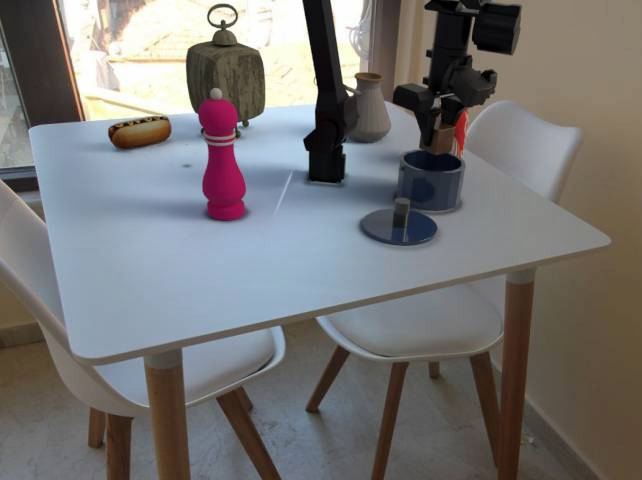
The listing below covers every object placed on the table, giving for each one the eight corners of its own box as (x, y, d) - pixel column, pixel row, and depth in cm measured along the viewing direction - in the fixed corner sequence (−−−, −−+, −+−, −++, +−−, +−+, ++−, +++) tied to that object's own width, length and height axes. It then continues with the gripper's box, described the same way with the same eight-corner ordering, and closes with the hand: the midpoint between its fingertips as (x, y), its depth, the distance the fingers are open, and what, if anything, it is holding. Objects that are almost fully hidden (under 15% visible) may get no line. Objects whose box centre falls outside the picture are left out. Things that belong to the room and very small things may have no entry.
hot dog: (178, 142, 129) (175, 118, 126) (119, 155, 122) (114, 129, 119) (165, 136, 132) (162, 111, 129) (107, 148, 124) (102, 122, 121)
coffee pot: (364, 125, 147) (368, 56, 137) (400, 138, 141) (407, 67, 131) (297, 143, 134) (297, 68, 124) (334, 158, 128) (336, 81, 119)
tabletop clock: (248, 124, 142) (241, -2, 126) (271, 135, 137) (266, 6, 121) (192, 134, 134) (177, 1, 118) (214, 147, 129) (202, 10, 113)
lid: (359, 244, 100) (361, 213, 96) (364, 211, 109) (366, 182, 106) (437, 251, 100) (442, 220, 96) (435, 218, 109) (440, 189, 106)
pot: (395, 210, 111) (399, 169, 106) (397, 185, 120) (400, 146, 115) (460, 216, 111) (467, 175, 106) (456, 190, 120) (463, 152, 115)
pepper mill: (255, 209, 107) (248, 86, 94) (234, 225, 102) (225, 97, 89) (218, 200, 109) (207, 79, 96) (196, 216, 103) (181, 89, 91)
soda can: (459, 171, 127) (469, 111, 120) (426, 167, 128) (434, 106, 121) (462, 160, 133) (472, 101, 125) (430, 155, 134) (438, 97, 126)
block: (435, 155, 107) (439, 130, 104) (418, 148, 109) (421, 123, 106) (451, 151, 109) (455, 127, 106) (434, 144, 111) (438, 120, 108)
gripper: (447, 63, 89) (431, 169, 99) (525, 52, 99) (504, 149, 109) (395, 45, 95) (385, 147, 105) (474, 37, 105) (458, 130, 115)
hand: (435, 144), depth 108 cm, fingers closed on block, 4 cm apart
